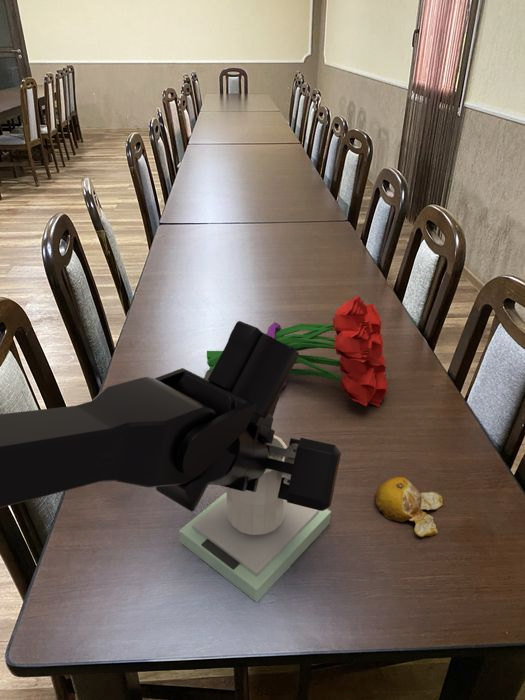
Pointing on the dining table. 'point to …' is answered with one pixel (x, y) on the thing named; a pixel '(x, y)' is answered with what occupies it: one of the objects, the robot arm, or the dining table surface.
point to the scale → (252, 545)
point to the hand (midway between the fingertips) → (260, 462)
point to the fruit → (408, 504)
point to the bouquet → (340, 350)
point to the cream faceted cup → (258, 502)
